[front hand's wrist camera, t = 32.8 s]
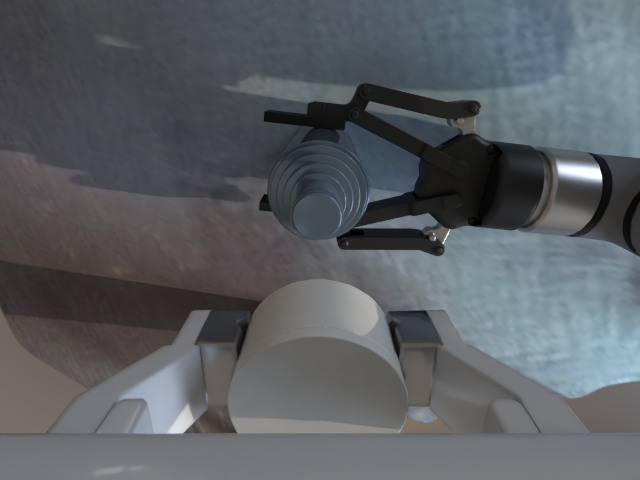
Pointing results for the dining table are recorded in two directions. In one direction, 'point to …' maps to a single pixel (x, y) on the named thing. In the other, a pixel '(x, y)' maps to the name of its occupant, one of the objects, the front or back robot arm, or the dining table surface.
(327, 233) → the bottle
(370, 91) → the back robot arm
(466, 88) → the dining table surface
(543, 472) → the front robot arm
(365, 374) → the cap
